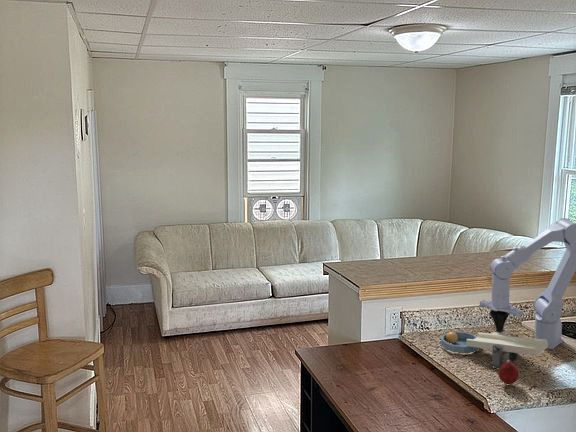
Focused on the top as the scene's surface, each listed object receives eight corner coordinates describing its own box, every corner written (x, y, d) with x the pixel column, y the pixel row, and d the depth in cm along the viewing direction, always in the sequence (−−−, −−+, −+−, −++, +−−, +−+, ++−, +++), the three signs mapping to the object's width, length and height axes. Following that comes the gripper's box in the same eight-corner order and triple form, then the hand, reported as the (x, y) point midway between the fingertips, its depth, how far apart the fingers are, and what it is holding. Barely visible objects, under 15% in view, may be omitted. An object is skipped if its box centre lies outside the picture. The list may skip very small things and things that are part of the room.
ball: (460, 332, 201) (459, 342, 202) (450, 328, 204) (449, 338, 205) (454, 336, 198) (453, 346, 200) (444, 332, 201) (443, 342, 202)
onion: (520, 390, 170) (520, 365, 168) (499, 389, 171) (500, 364, 169) (516, 380, 175) (517, 356, 173) (496, 379, 176) (497, 355, 175)
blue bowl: (454, 336, 208) (454, 328, 208) (485, 346, 199) (485, 338, 198) (434, 347, 201) (434, 339, 200) (465, 358, 191) (465, 349, 191)
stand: (510, 352, 193) (511, 332, 192) (522, 356, 190) (522, 336, 189) (488, 367, 184) (488, 346, 183) (499, 371, 181) (500, 350, 180)
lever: (493, 330, 203) (492, 322, 203) (561, 338, 185) (559, 329, 185) (467, 346, 193) (465, 338, 192) (535, 355, 174) (534, 346, 174)
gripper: (475, 291, 199) (474, 328, 201) (514, 301, 188) (513, 340, 191) (486, 286, 203) (485, 322, 206) (525, 296, 192) (523, 333, 195)
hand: (499, 330), depth 199 cm, fingers closed, pressing on lever
